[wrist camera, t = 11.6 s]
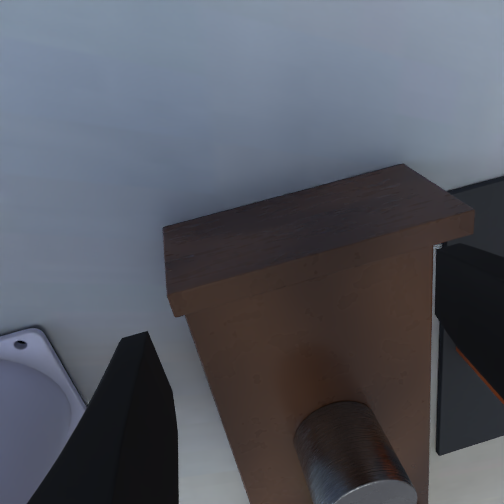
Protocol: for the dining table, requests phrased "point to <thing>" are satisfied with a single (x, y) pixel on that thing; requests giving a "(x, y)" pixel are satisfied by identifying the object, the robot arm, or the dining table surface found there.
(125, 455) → the robot arm
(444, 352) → the mat
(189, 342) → the dining table surface
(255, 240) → the shelf
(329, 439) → the steel tin
